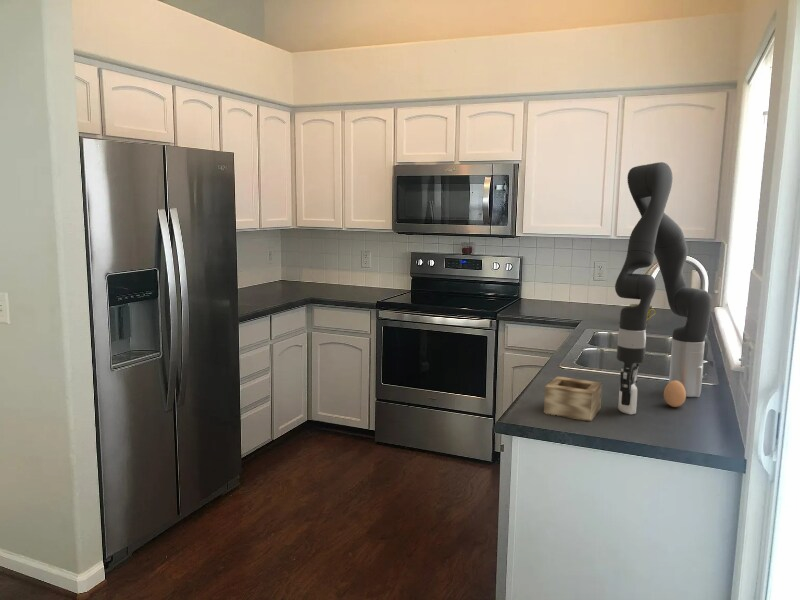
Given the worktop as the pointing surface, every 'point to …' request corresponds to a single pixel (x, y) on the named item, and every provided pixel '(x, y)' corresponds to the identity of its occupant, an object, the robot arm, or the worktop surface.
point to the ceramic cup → (647, 313)
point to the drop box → (573, 398)
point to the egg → (674, 393)
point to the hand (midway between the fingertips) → (627, 401)
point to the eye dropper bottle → (633, 401)
